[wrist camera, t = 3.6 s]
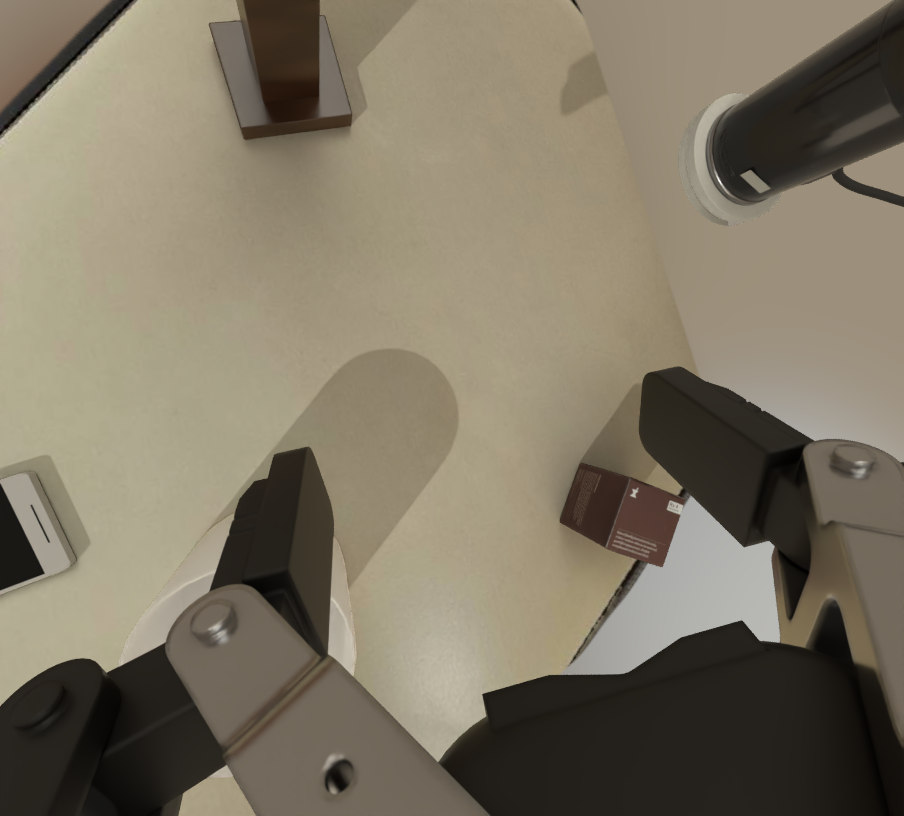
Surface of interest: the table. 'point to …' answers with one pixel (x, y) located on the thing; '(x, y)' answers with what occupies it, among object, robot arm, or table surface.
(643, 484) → the box
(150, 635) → the cup
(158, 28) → the table surface
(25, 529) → the smartphone
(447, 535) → the table surface
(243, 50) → the stand
